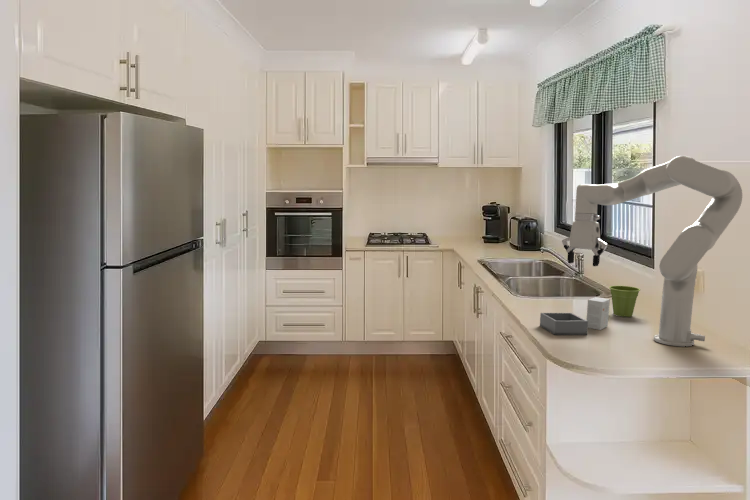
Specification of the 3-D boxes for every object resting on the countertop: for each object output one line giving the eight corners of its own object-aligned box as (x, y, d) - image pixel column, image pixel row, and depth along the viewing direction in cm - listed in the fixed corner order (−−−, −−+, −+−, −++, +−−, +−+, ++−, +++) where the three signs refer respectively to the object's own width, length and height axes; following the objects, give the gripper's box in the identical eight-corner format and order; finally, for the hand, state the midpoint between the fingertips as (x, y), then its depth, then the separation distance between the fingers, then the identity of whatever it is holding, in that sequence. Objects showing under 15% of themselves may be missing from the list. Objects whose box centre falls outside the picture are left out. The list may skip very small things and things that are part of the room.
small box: (593, 323, 236) (595, 296, 234) (608, 326, 232) (610, 298, 231) (585, 327, 229) (587, 299, 228) (600, 330, 226) (602, 301, 225)
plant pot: (608, 310, 260) (610, 284, 259) (638, 314, 255) (641, 287, 254) (605, 316, 250) (607, 288, 248) (637, 319, 245) (639, 291, 243)
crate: (570, 325, 231) (571, 312, 230) (586, 334, 218) (587, 321, 217) (539, 326, 229) (540, 312, 229) (554, 335, 216) (555, 321, 216)
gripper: (613, 219, 223) (610, 266, 225) (568, 216, 235) (566, 261, 237) (603, 219, 218) (600, 268, 220) (558, 217, 230) (556, 262, 232)
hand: (582, 264), depth 228 cm, fingers open, 9 cm apart
